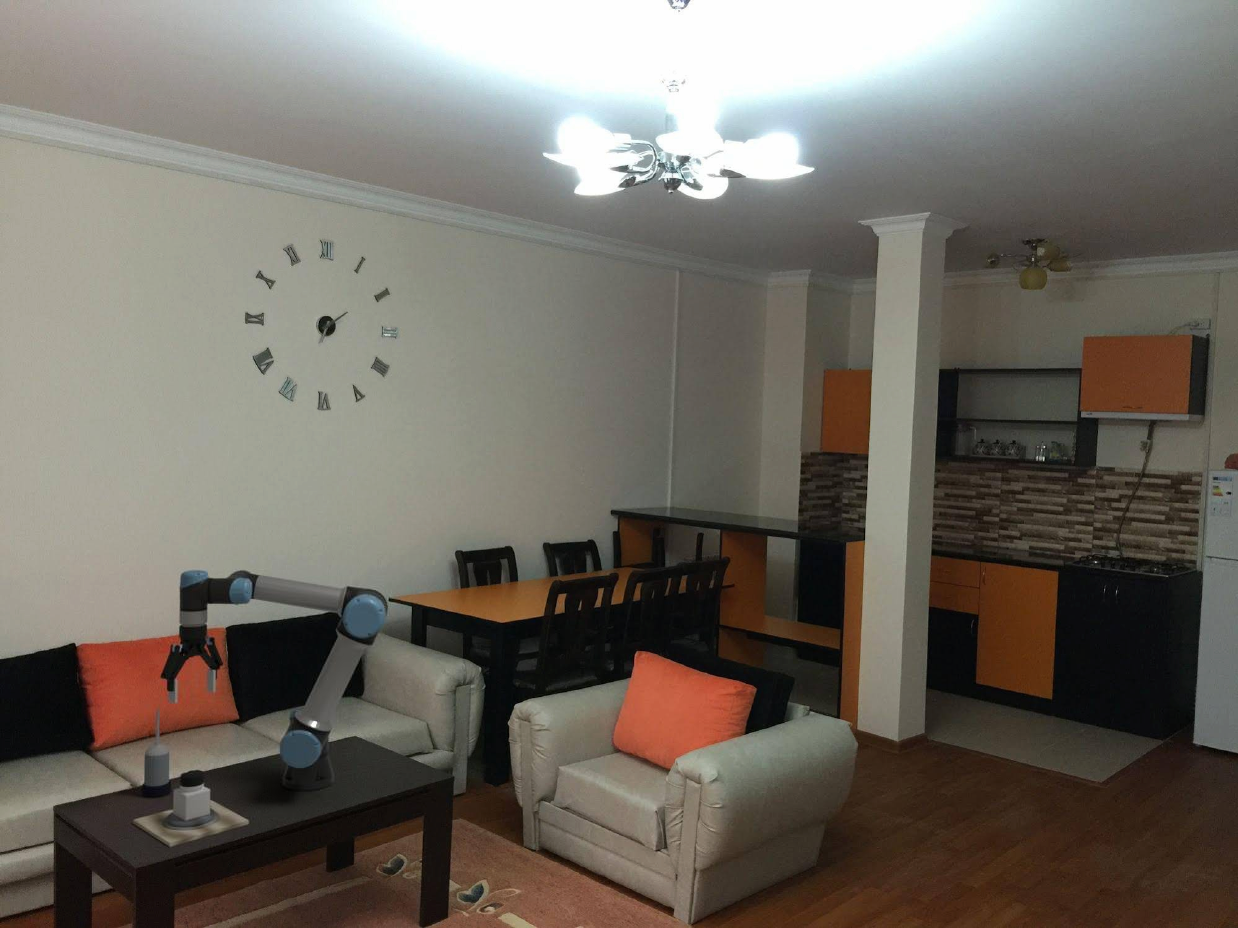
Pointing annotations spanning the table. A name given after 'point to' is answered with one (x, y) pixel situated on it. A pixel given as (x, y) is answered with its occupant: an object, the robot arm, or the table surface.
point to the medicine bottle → (191, 796)
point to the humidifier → (156, 769)
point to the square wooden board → (189, 825)
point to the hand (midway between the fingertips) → (192, 696)
